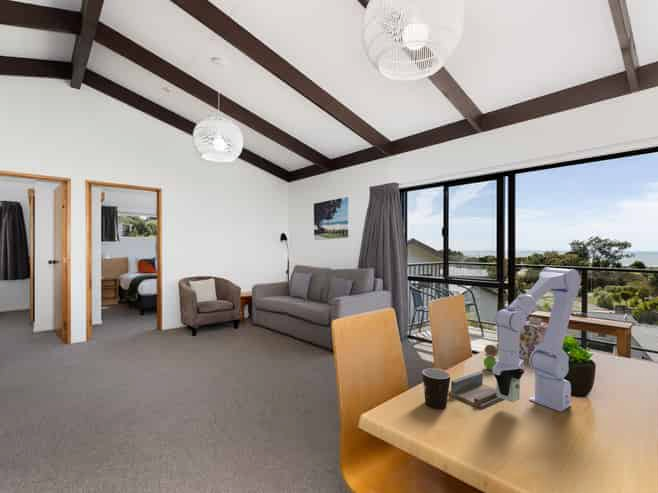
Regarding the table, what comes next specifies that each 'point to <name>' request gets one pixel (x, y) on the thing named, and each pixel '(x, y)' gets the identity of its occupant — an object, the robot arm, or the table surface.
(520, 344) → the decorative jar
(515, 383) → the cabinet block
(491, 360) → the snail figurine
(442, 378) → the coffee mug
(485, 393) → the cleat board
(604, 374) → the table surface
